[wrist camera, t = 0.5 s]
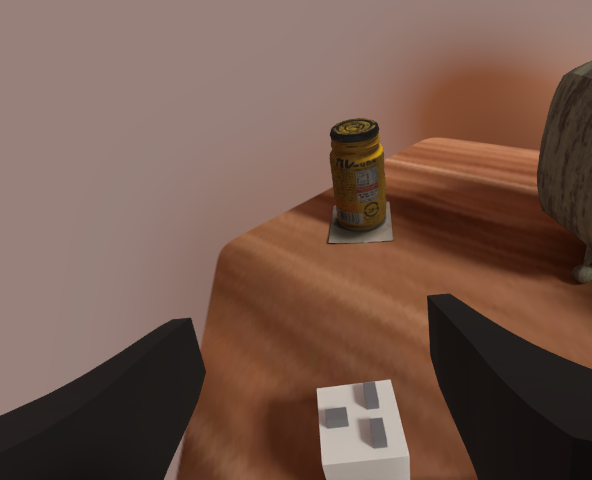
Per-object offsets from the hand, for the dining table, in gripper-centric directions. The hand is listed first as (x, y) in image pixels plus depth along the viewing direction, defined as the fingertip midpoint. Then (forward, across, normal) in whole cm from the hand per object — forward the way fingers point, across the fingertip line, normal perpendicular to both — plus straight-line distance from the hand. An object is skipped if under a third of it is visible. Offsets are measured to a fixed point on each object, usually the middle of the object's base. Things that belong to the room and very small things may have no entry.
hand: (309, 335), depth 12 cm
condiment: (+37, -3, +8) cm, 38 cm away
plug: (+9, -1, +16) cm, 19 cm away
